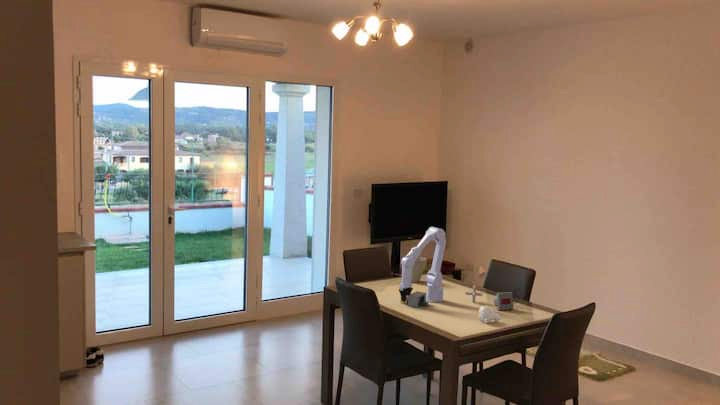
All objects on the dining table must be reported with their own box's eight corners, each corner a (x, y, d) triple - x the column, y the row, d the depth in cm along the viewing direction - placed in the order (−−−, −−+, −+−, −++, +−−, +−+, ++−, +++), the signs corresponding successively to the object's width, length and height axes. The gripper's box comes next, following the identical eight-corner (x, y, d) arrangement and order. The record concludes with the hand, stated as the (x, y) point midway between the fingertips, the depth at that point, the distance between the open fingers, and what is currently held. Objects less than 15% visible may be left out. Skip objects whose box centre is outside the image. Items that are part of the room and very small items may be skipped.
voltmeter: (508, 313, 346) (509, 296, 345) (489, 309, 352) (490, 292, 351) (523, 304, 368) (524, 288, 367) (505, 300, 374) (506, 285, 373)
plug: (428, 305, 352) (428, 299, 351) (426, 307, 348) (426, 300, 348) (402, 301, 359) (403, 294, 358) (400, 302, 355) (400, 296, 355)
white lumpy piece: (478, 304, 326) (498, 306, 329) (475, 320, 326) (496, 321, 329) (483, 307, 320) (504, 309, 322) (480, 323, 320) (501, 325, 323)
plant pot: (427, 281, 418) (428, 258, 416) (420, 285, 404) (421, 261, 403) (406, 278, 424) (408, 255, 423) (399, 281, 410) (400, 258, 409)
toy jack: (482, 305, 360) (483, 288, 359) (464, 303, 362) (466, 286, 361) (482, 300, 370) (483, 284, 369) (465, 299, 372) (466, 283, 371)
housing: (425, 303, 356) (426, 292, 356) (417, 307, 346) (418, 296, 345) (416, 301, 359) (416, 291, 359) (407, 306, 349) (408, 295, 348)
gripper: (405, 274, 363) (404, 296, 364) (395, 278, 350) (393, 301, 351) (416, 276, 359) (414, 298, 361) (406, 280, 347) (404, 303, 348)
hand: (405, 300), depth 356 cm, fingers closed on plug, 4 cm apart
